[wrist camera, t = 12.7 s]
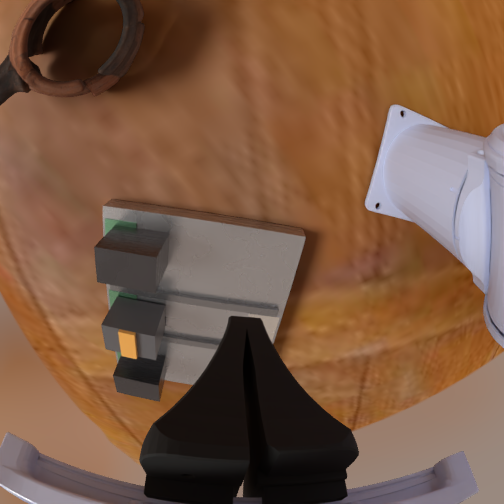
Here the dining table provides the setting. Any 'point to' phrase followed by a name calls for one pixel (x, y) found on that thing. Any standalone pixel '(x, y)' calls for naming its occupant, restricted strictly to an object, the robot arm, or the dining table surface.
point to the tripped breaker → (134, 328)
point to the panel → (192, 282)
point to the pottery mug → (30, 43)
